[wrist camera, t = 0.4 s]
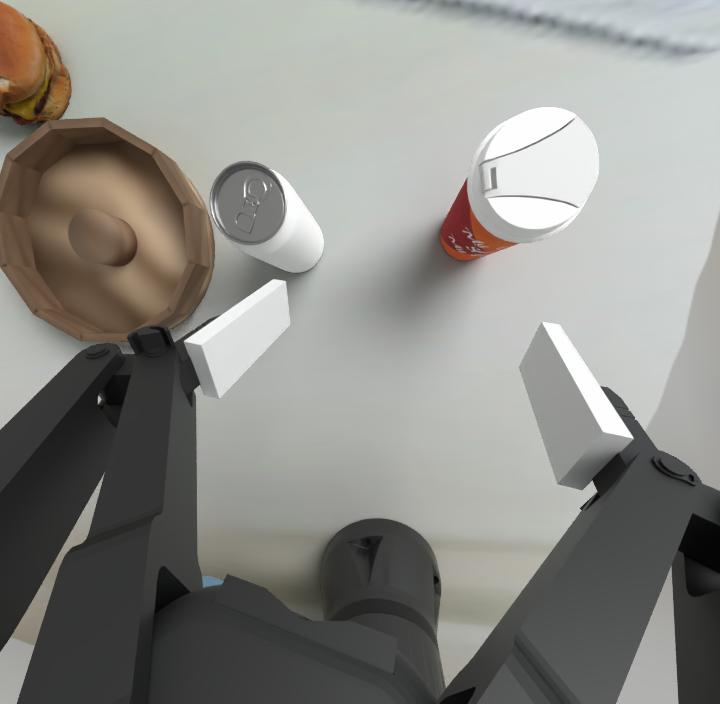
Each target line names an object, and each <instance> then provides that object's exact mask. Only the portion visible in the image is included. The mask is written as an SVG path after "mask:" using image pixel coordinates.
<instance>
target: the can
mask: <svg viewBox="0 0 720 704" xmlns="http://www.w3.org/2000/svg"><path fill="white" fill-rule="evenodd" d="M210 210H211V214H212V217H213V220H214V222H215V224H216V226H217V227H218V229H219V230H220V231H221V232H222V233H223V234H224V236H225V237H226V238H227V240H228V241H229V242H230V243H231V244H232V245H233V246H235V247H236V248H237V249H239V250H241V251H242V252H244V253H246V254H248V255H251V256H253V257H255V258H257V259H259V260H262V261H264V262H266V263H268V264H271V265H273V266H275V267H278V268H280V269H282V270H285V271H288V272H292V273H300V272H304V271H307V270H309V269H311V268H312V267H313V266H314V265H315V264H316V263H317V262H318V261H319V259H320V257H321V255H322V252H323V247H324V240H323V235H322V232H321V229H320V228H319V226H318V224H317V223H316V221H315V220H314V218H313V217H312V215H311V214H310V212H309V211H308V209H307V208H306V206H305V205H304V204H303V202H302V201H301V199H300V198H299V196H298V195H297V194H296V192H295V191H294V189H293V188H292V187H291V185H290V184H289V183H288V182H287V181H286V180H285V179H284V178H283V177H282V176H281V175H280V174H279V173H277V172H275V171H274V170H271V169H269V168H267V167H266V166H264V165H262V164H260V163H257V162H252V161H241V162H237V163H234V164H232V165H230V166H228V167H226V168H225V169H224V170H223V171H222V172H221V173H220V174H219V175H218V176H217V178H216V180H215V181H214V183H213V186H212V189H211V193H210Z"/></svg>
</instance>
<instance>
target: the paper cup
mask: <svg viewBox="0 0 720 704" xmlns="http://www.w3.org/2000/svg"><path fill="white" fill-rule="evenodd" d="M598 173H599V157H598V148H597V144H596V141H595V139H594V137H593V134H592V133H591V131H590V130H589V129H588V127H587V126H586V125H585V124H584V123H583V122H582V120H581V119H580V118H579V117H577V115H575V114H574V113H571V112H569V111H567V110H564V109H560V108H554V107H543V108H536V109H532V110H528V111H526V112H523V113H521V114H519V115H517V116H515V117H513V118H511V119H509V120H506V121H505V122H503V123H502V124H500V125H499V126H497V127H496V128H495V129H494V130H492V131H491V132H490V133H489V134H488V135H487V136H486V138H485V139H484V140H483V141H482V142H481V144H480V146H479V147H478V149H477V150H476V152H475V154H474V157H473V159H472V161H471V164H470V168H469V172H468V177H467V179H466V181H465V183H464V185H463V186H462V188H461V190H460V192H459V194H458V196H457V198H456V199H455V201H454V203H453V205H452V207H451V209H450V211H449V213H448V215H447V217H446V219H445V221H444V223H443V226H442V229H441V242H442V245H443V248H444V249H445V251H446V252H447V253H448V254H449V255H450V256H451V257H453V258H455V259H458V260H463V261H467V260H473V259H477V258H480V257H483V256H486V255H488V254H491V253H494V252H497V251H500V250H502V249H505V248H508V247H511V246H513V245H516V244H519V243H532V242H536V241H541V240H544V239H546V238H549V237H551V236H553V235H555V234H556V233H558V232H560V231H561V230H562V229H564V228H565V227H566V226H568V225H569V224H570V223H571V222H572V221H573V220H574V218H575V217H576V216H577V215H578V213H579V212H580V211H581V209H582V208H583V206H584V204H585V202H586V200H587V198H588V196H589V194H590V193H591V191H592V189H593V187H594V185H595V183H596V180H597V178H598Z"/></svg>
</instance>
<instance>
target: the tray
mask: <svg viewBox="0 0 720 704" xmlns="http://www.w3.org/2000/svg"><path fill="white" fill-rule="evenodd" d="M214 258H215V243H214V235H213V229H212V225H211V221H210V217H209V215H208V212H207V209H206V207H205V204H204V202H203V200H202V199H201V197H200V195H199V193H198V191H197V190H196V188H195V187H194V186H193V184H192V183H191V181H190V180H189V179H188V178H187V177H186V176H185V174H184V173H183V172H182V171H181V170H180V169H179V167H178V165H177V164H176V162H175V161H173V160H172V159H171V158H169V157H168V156H166V155H165V154H164V153H162V152H161V151H160V150H158V149H157V148H155V147H154V146H152V145H150V144H148V143H147V142H145V141H143V140H142V139H140V138H138V137H136V136H135V135H133V134H131V133H130V132H128V131H126V130H124V129H123V128H121V127H119V126H117V125H116V124H114V123H112V122H111V121H109V120H107V119H105V118H104V117H103V118H84V119H64V120H48V121H46V122H45V123H44V124H43V125H42V126H40V127H39V128H38V129H37V130H36V131H34V132H33V133H32V134H31V135H30V136H28V137H27V138H26V139H25V140H23V141H22V142H21V143H20V144H19V145H17V146H16V147H15V148H14V149H13V150H11V151H10V152H9V153H8V154H7V155H6V157H5V160H4V163H3V167H2V170H1V173H0V267H1V269H2V270H3V272H4V273H5V274H6V276H7V277H8V279H9V280H10V282H11V283H12V284H13V286H14V287H15V289H16V290H17V292H18V293H19V294H20V296H21V297H22V299H23V300H24V302H25V303H26V304H27V306H28V307H29V309H30V310H31V311H32V313H33V314H34V315H36V316H37V317H39V318H41V319H43V320H44V321H46V322H48V323H50V324H52V325H53V326H55V327H57V328H59V329H60V330H62V331H64V332H66V333H67V334H69V335H71V336H73V337H75V338H76V339H78V340H80V341H128V339H127V336H128V335H129V334H130V333H131V332H133V331H134V330H137V329H139V328H142V327H146V326H150V325H163V326H166V327H168V329H169V330H170V329H172V328H174V327H176V326H177V325H179V324H180V323H181V322H183V321H184V320H185V319H186V318H187V317H188V316H189V315H190V314H191V313H192V312H193V311H194V310H195V309H196V307H197V306H198V305H199V303H200V302H201V300H202V298H203V297H204V295H205V293H206V291H207V288H208V286H209V283H210V280H211V276H212V272H213V267H214Z"/></svg>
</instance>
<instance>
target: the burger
mask: <svg viewBox="0 0 720 704" xmlns="http://www.w3.org/2000/svg"><path fill="white" fill-rule="evenodd" d="M70 96H71V82H70V77H69V74H68V71H67V69H66V67H65V66H64V65H63V64H62V63H61V57H60V55H59V52H58V49H57V47H56V45H55V44H54V42H53V41H52V40H51V39H50V37H49V36H48V35H47V34H46V32H45V31H44V30H43V29H42V28H41V27H39V26H38V25H36V24H35V23H34V22H32V20H31V19H29V18H26V17H25V16H24V15H22V14H21V13H20V12H18V11H17V10H16V9H14V8H12V7H11V6H9V5H7V4H4V3H2V2H0V115H3V116H5V117H6V116H9V117H13V118H14V121H15V122H16V123H17V124H20V125H26V123H31V124H36V123H37V122H38V121H43V120H45V121H48V120H57V119H58V118H60V117H61V116H62V115H63V113H64V112H65V110H66V108H67V106H68V104H69V100H68V99H69V98H70Z"/></svg>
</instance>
